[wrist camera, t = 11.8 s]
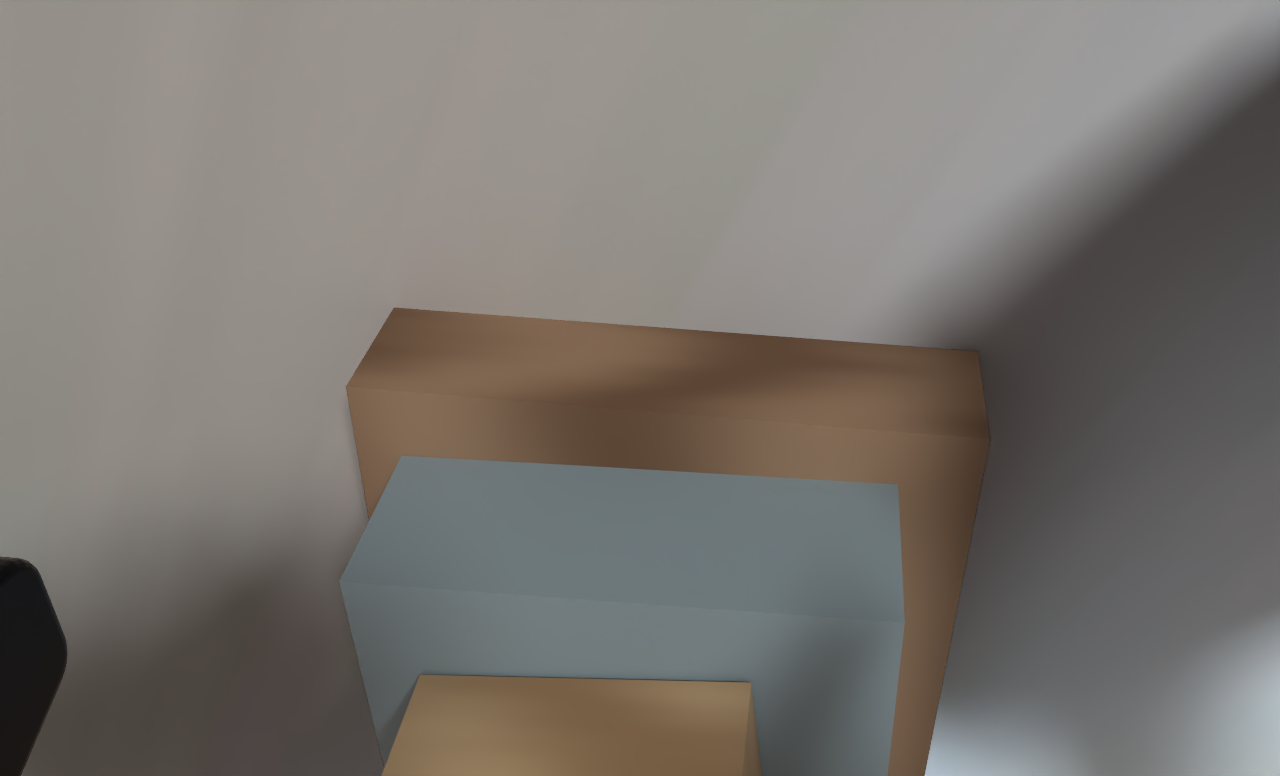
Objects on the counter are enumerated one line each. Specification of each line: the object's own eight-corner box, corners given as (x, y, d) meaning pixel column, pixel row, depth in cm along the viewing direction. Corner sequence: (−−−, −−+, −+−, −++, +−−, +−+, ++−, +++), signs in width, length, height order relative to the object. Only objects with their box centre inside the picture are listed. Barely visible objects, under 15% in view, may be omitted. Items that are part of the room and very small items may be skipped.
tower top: (898, 483, 19) (904, 622, 17) (865, 810, 23) (867, 956, 21) (401, 455, 20) (338, 581, 18) (461, 771, 25) (417, 907, 22)
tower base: (975, 332, 21) (990, 439, 18) (905, 727, 26) (909, 848, 24) (403, 291, 22) (345, 386, 19) (454, 676, 28) (415, 787, 25)
